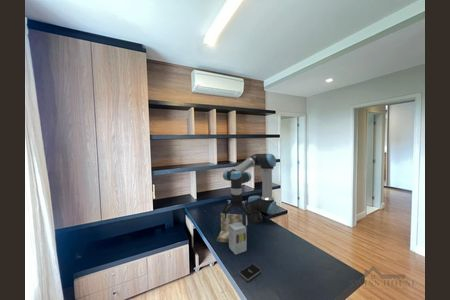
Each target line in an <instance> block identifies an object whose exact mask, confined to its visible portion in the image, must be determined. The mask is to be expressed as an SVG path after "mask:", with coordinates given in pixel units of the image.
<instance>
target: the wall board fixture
mask: <svg viewBox="0 0 450 300" xmlns="http://www.w3.org/2000/svg"><path fill="white" fill-rule="evenodd" d="M237 222H240V223H242V224H243V214H235V213H228V224H226V219H225V214H224V213H220V232H219V234H218V236H217V237H216V242H220V243H229V224H234V223H237Z"/></svg>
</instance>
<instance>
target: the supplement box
mask: <svg viewBox="0 0 450 300" xmlns="http://www.w3.org/2000/svg"><path fill="white" fill-rule="evenodd" d="M247 243H248V242H247V226H246V225H244V224H243V222H242V223H240V222H237V223H234V224H229V242H228V247H229V249H230V250H231V252H233V254H234V255H239V254H241V253H244V252H247V248H248V247H247V246H248V245H247Z"/></svg>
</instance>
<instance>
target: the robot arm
mask: <svg viewBox="0 0 450 300" xmlns="http://www.w3.org/2000/svg"><path fill="white" fill-rule="evenodd" d="M276 165H277V159H276V157H275V155H274V154H273V153H255V154H252V155H249V156H248V157H247V158H246V159H245V160H244V161H243V162H241V163H240V164H238V165H237V166H235V167H234V168H231V170H225V171H223V173H222V179H223V180H224V181H229V182H230V193H231V194H230V199H227V200H226V204H225V206H224V207H223V210H222V212H221V214H225V219H226V224H228V214H229V212H230V210H231V209H233V208H240V209H241V210H242V211H243V212H244V214H245V226H246V227H247V226H248V223H250V224H257V225H258V224H260V223H263V216H262V213H265V214H269V215H273V214H274V213H275V212H276V209H277V202H276V201H275V198H274V197H273V170H274V167H276ZM257 166H258V167H259V168H260V169H261V174H262V175H261V176H262V177H261V178H262V181H261V182H262V183H261V186H262V193H261V194H262V195H261V196H260V195H251V196H249V197H248V199H247V200H243V194H242V193H243V188H242V187H243V185H242V184H246V183H249V182H251V180H252V175H251V173H250V172H249V171H248V170H249V169H250V168H253V167H257ZM229 204H231V205H230V206H229V207H228V205H229ZM244 206H245V207H244ZM227 208H228V209H227ZM261 212H262V213H261Z"/></svg>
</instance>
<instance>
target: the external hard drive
mask: <svg viewBox="0 0 450 300" xmlns="http://www.w3.org/2000/svg"><path fill="white" fill-rule="evenodd" d="M261 273H262V270H261V268H259V267H258V266H257V265H255V264H254V263H251V264H249V265H248V266H246V267H244V268H243V269H242V270H239V276H240V277H241V278H242V279H244V280H245V281H246V283H249V282H250V281H252V280H253V279H255V278H256V277H257V276H259V275H261Z"/></svg>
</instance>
